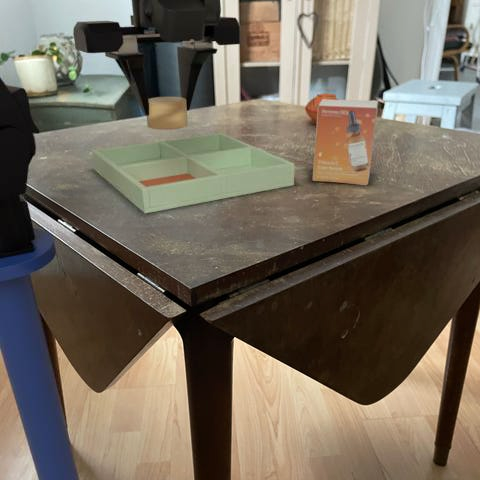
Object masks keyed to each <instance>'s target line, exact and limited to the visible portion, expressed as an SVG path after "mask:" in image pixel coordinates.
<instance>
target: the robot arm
mask: <svg viewBox="0 0 480 480" xmlns="http://www.w3.org/2000/svg"><path fill="white" fill-rule="evenodd" d="M131 10H132V14H131V15H130V16H129V17H130V25H129V26H121V25H120V22H119V21H111V20H93V21H92V20H89V21H77V22H76V23H75V25H74V27H73V32H72V33H73V34H72V35H73V40H74V46H75V47H74V48H75V50H76V51H79V52H83V53H86V54H102V53H104V54H105V55H104V56H105V57H107V58H110V59H113V60H114V61H115V62H116V64H117V66H118V68H119V69H120V70H121V72H122V74H123V76H124V77H125V79H126V80H127V82H128V85H129V87H130V89H131V91H132V93H133V96H134V97H135V99H136V101H137V104H138V106H139V108H140V110H141V112H142V114H143V115H144V116H146V117H147V115H149V101H148V99H149V95H148V90H147V82H146V75H145V71H144V65H145V56H146V54H145V53H141V52H139V47H138V45H140V44H141V45H142V44H158V43H159V44H160V43H178V42H182V46H176V53H177V65H178V78H179V91H180V93H179V94H180V97H182V98H185V99H186V104H187V112H189V111H190V108H191V105H192V101H193V97H194V94H195V90H196V86H197V83H198V79H199V76H200V73H201V71H202V69H203V66H204V64H205V63H206V61H207V60H208V58H209V57H210V56H211V55H216V54H217V52H218V48H215V47H213V42H215V44H217V45H218V46H232V45H233V46H235V45H241V44H243V43H242V42H243V41H242V40H243V39H242V27H241V24H240V22H239V20H238V18H237V17H232V16H231V17H230V16H221V15H222V7H221V0H131ZM150 28H151V29H152V28H154V31H149V30H150ZM30 107H31V106H30V100H29V96H28V93H27V91H26V89H25V88H24V87H19V86H13V85H7V84H6V83H5V82H4V80H3V79H2V78H1V77H0V259H2V258H7V257H12V256H16V255H21V254H26V253H31V252H34V251H35V248H34V245H33V243H32V242H31V241H33V240H34V239H35V234H34V230H33V228H34V226H33V221H32V217H31V212H30V207H29V203H28V202H27V200H26V198H25V197H24V195H23V194H25V193H27V188H28V187H27V186H28V185H27V184H28V177H29V166H30V164H31V163H32V160H33V158H34V156H36V155H37V154H36V153H37V143H36V137H35V134H36V135H37V134H40V130H39V127H38V126H37V125H36V123H35V122H34V119H33V117H32V112H31V108H30Z"/></svg>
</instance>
